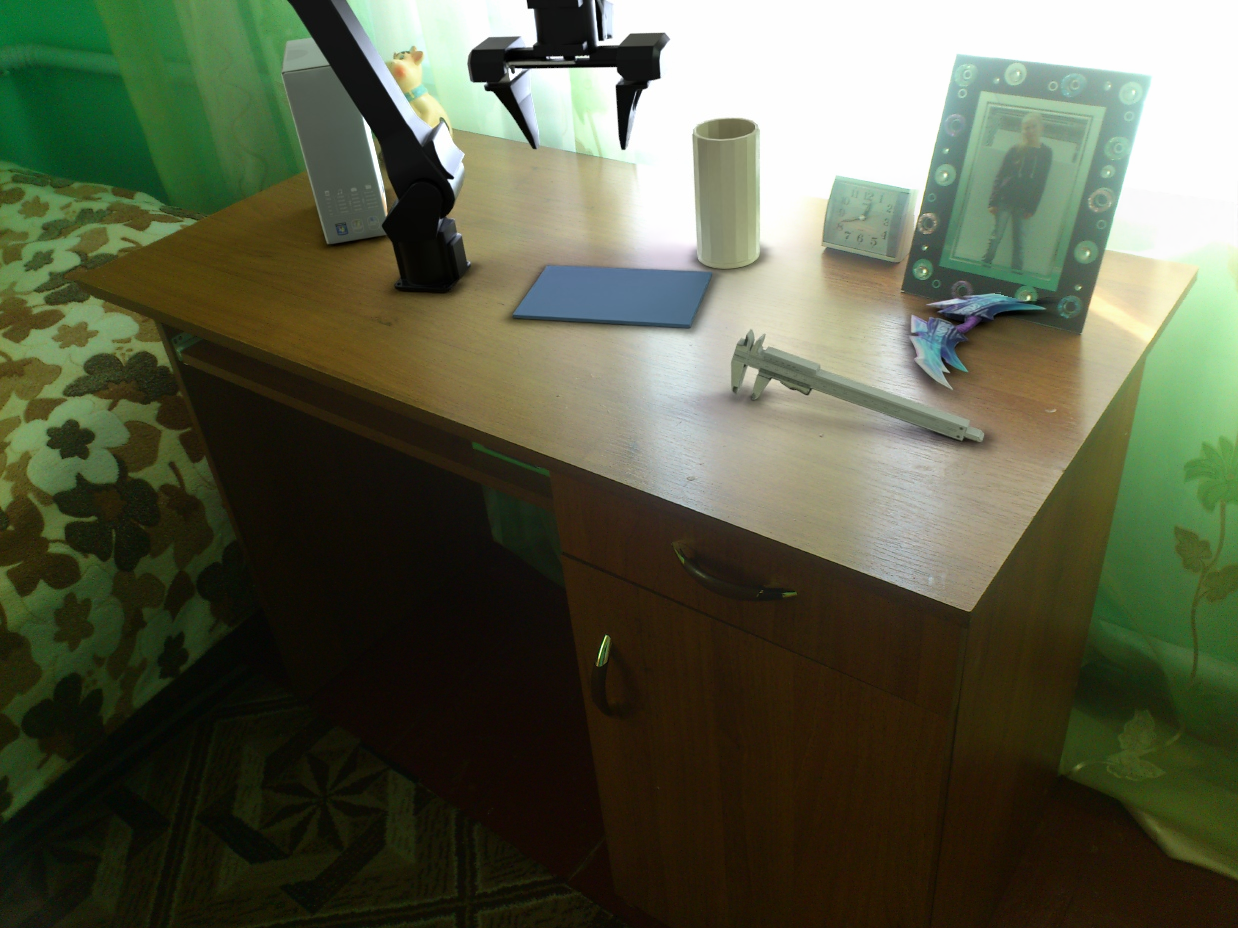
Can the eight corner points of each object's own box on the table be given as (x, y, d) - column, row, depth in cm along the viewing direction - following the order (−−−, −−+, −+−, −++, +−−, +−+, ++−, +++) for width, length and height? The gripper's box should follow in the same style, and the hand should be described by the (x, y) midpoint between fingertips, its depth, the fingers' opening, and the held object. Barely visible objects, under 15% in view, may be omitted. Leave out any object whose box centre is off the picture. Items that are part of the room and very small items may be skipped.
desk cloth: (512, 318, 97) (512, 314, 97) (548, 268, 106) (547, 265, 105) (689, 328, 93) (689, 324, 92) (712, 275, 101) (712, 271, 101)
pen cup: (713, 274, 101) (708, 145, 93) (687, 250, 106) (681, 126, 98) (770, 259, 102) (771, 131, 94) (742, 236, 108) (741, 113, 99)
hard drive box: (392, 236, 116) (350, 62, 104) (327, 248, 115) (277, 73, 103) (386, 190, 128) (347, 29, 116) (327, 200, 127) (282, 39, 115)
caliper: (731, 396, 83) (729, 332, 79) (735, 389, 84) (734, 325, 80) (981, 445, 74) (993, 376, 71) (984, 437, 75) (995, 368, 71)
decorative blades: (981, 266, 95) (1079, 297, 89) (980, 273, 96) (1077, 305, 89) (854, 344, 86) (953, 385, 79) (853, 352, 86) (952, 394, 80)
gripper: (681, -47, 91) (689, 121, 100) (495, -39, 96) (519, 121, 105) (653, -20, 83) (664, 161, 92) (451, -12, 88) (481, 159, 97)
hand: (579, 148), depth 97 cm, fingers open, 9 cm apart
